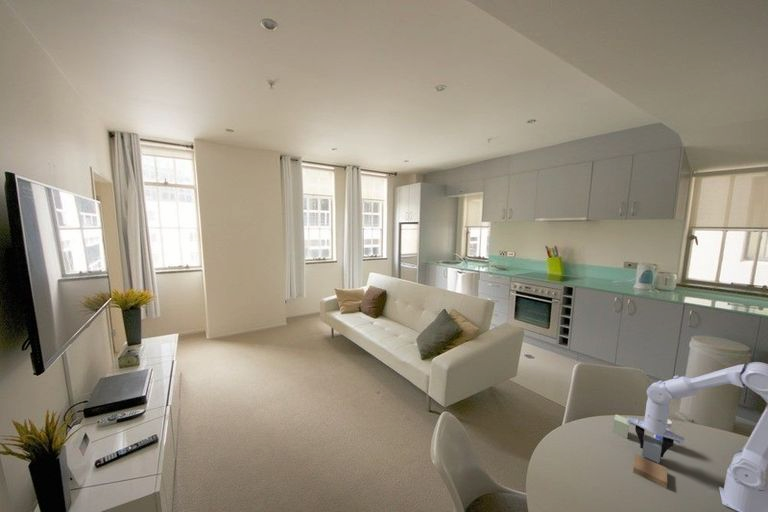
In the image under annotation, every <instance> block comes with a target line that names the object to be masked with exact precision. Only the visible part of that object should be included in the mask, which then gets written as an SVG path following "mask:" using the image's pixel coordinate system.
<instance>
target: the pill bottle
mask: <svg viewBox="0 0 768 512" xmlns="http://www.w3.org/2000/svg"><path fill="white" fill-rule="evenodd" d="M666 429H667V430H669V431H671V432H673V433H675V430H674V428H673V422H672V421H671V419H669V418H668V421H667V428H666ZM652 437H653V438H655V439H658V440H660V441H662V440H663V436H659V435H656V434H653V433H652ZM672 447H673V446H672ZM672 447H671V448H670V449H672Z"/></svg>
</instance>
